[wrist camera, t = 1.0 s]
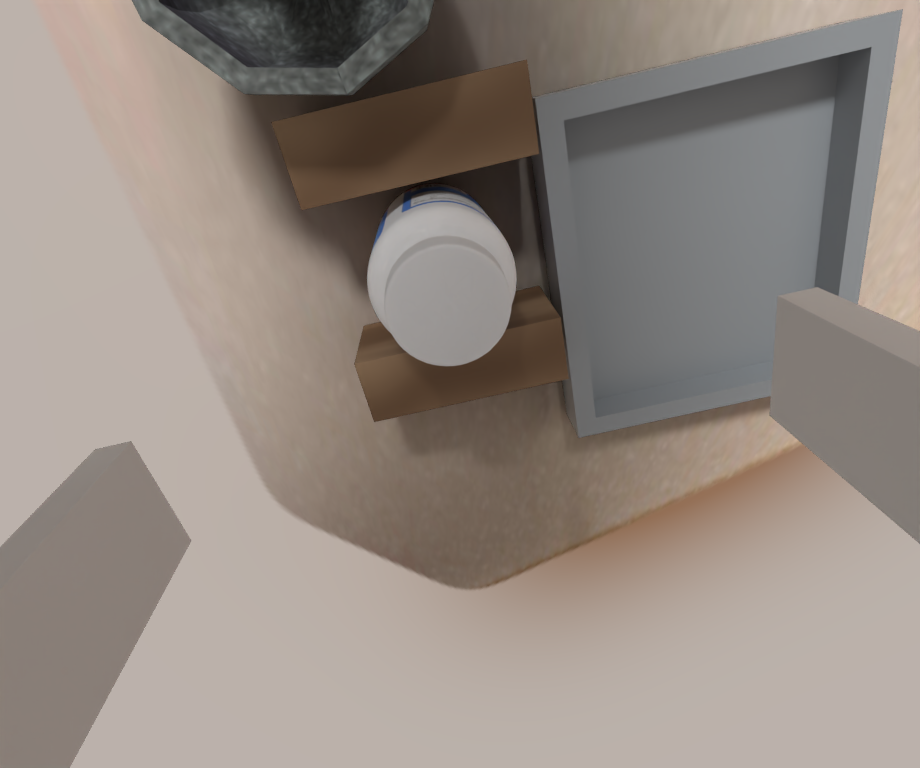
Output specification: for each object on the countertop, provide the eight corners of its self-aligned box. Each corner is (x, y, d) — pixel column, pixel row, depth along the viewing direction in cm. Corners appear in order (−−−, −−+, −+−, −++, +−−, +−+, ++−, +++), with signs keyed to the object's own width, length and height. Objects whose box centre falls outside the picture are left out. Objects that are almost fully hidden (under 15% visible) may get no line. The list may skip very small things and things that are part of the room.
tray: (523, 99, 22) (534, 98, 20) (853, 19, 22) (902, 9, 20) (566, 413, 30) (578, 437, 28) (813, 359, 29) (846, 379, 27)
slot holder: (297, 119, 22) (271, 121, 18) (507, 68, 22) (527, 59, 18) (380, 377, 28) (374, 422, 24) (546, 339, 28) (568, 378, 24)
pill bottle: (432, 318, 27) (439, 418, 18) (353, 239, 25) (318, 309, 16) (516, 244, 25) (567, 314, 17) (439, 153, 23) (452, 179, 15)
